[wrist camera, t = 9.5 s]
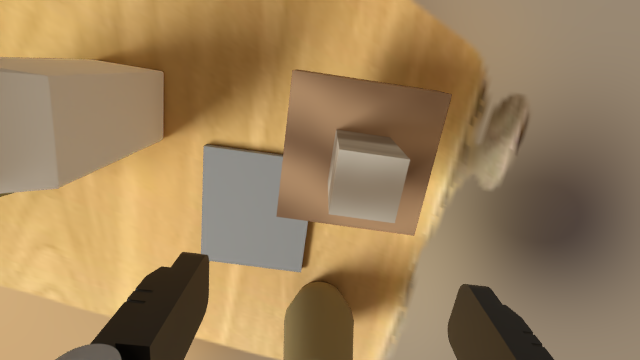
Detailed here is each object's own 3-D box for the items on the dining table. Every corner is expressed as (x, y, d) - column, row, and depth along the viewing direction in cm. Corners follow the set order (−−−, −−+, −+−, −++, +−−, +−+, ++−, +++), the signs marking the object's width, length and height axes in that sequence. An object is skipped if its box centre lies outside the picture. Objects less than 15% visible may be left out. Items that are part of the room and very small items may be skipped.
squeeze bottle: (288, 325, 44) (265, 490, 27) (286, 272, 41) (259, 419, 24) (350, 325, 44) (366, 492, 27) (352, 272, 41) (371, 420, 24)
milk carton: (164, 71, 34) (-19, 78, 16) (164, 139, 36) (3, 214, 18) (93, 59, 33) (-178, 52, 15) (97, 128, 36) (-135, 194, 18)
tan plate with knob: (296, 69, 26) (282, 72, 17) (436, 90, 27) (492, 104, 18) (281, 199, 30) (262, 258, 21) (404, 216, 30) (437, 281, 21)
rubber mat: (206, 144, 36) (203, 145, 35) (316, 159, 36) (316, 161, 36) (203, 256, 41) (201, 259, 40) (301, 268, 41) (300, 272, 40)
